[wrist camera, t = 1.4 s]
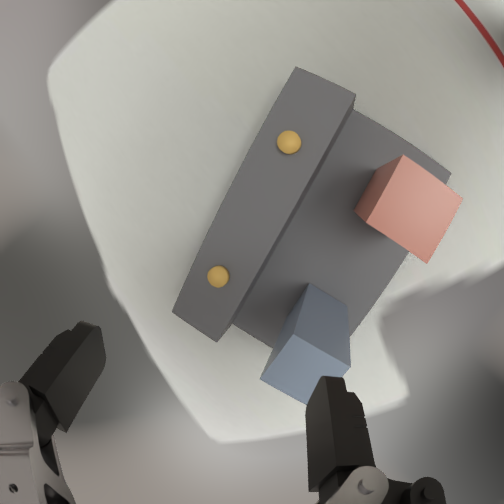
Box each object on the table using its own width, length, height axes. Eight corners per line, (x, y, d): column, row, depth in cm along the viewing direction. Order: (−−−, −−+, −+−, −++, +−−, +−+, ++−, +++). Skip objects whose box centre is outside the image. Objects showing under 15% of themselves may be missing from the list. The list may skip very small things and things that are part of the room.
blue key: (309, 283, 31) (293, 333, 20) (347, 306, 30) (350, 366, 19) (286, 318, 33) (259, 379, 21) (322, 339, 32) (312, 407, 21)
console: (299, 85, 28) (289, 61, 22) (448, 173, 25) (474, 170, 19) (192, 292, 37) (164, 311, 30) (319, 370, 34) (314, 404, 28)
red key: (376, 168, 27) (403, 154, 15) (416, 195, 26) (463, 198, 15) (353, 210, 28) (365, 222, 17) (392, 236, 28) (426, 263, 16)
